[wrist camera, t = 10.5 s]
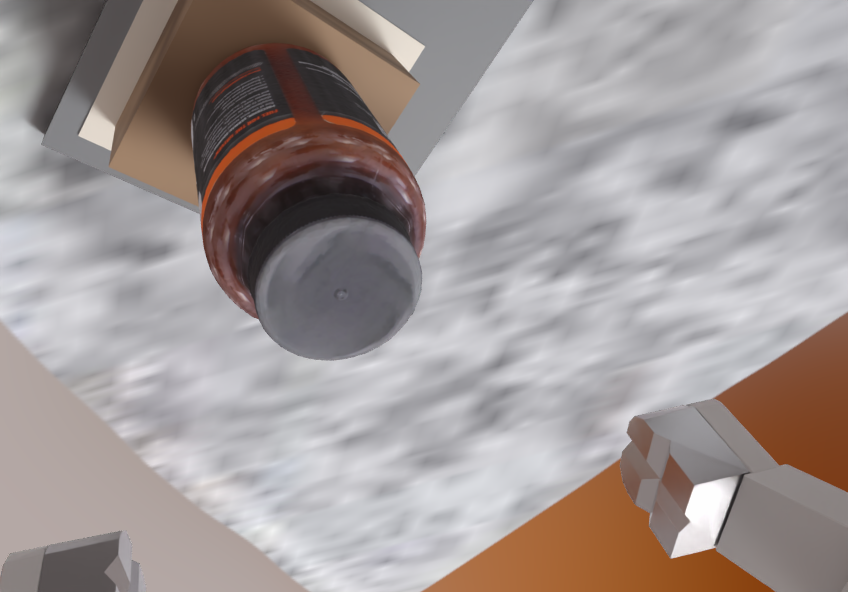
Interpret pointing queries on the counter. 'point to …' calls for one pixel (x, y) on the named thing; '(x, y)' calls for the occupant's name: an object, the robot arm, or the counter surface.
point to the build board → (350, 3)
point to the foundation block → (211, 44)
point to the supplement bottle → (305, 203)
